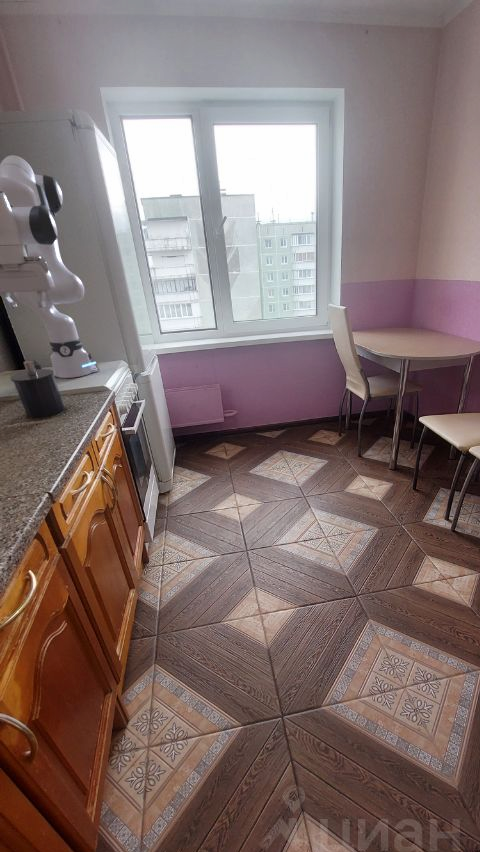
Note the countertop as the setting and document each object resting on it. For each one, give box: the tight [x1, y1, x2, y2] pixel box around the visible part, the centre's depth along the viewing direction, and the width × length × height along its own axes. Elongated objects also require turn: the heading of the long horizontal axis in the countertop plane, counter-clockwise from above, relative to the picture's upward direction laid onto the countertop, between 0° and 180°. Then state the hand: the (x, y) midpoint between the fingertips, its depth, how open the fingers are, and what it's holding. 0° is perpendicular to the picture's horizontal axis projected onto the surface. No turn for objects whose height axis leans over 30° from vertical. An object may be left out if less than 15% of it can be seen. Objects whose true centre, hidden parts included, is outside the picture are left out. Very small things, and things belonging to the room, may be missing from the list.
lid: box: [10, 360, 54, 383], centre depth 119 cm, size 12×12×5 cm
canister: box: [13, 375, 66, 419], centre depth 124 cm, size 11×11×12 cm
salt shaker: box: [33, 359, 43, 370], centre depth 145 cm, size 6×6×12 cm
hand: (28, 307), depth 120 cm, fingers open, 8 cm apart
